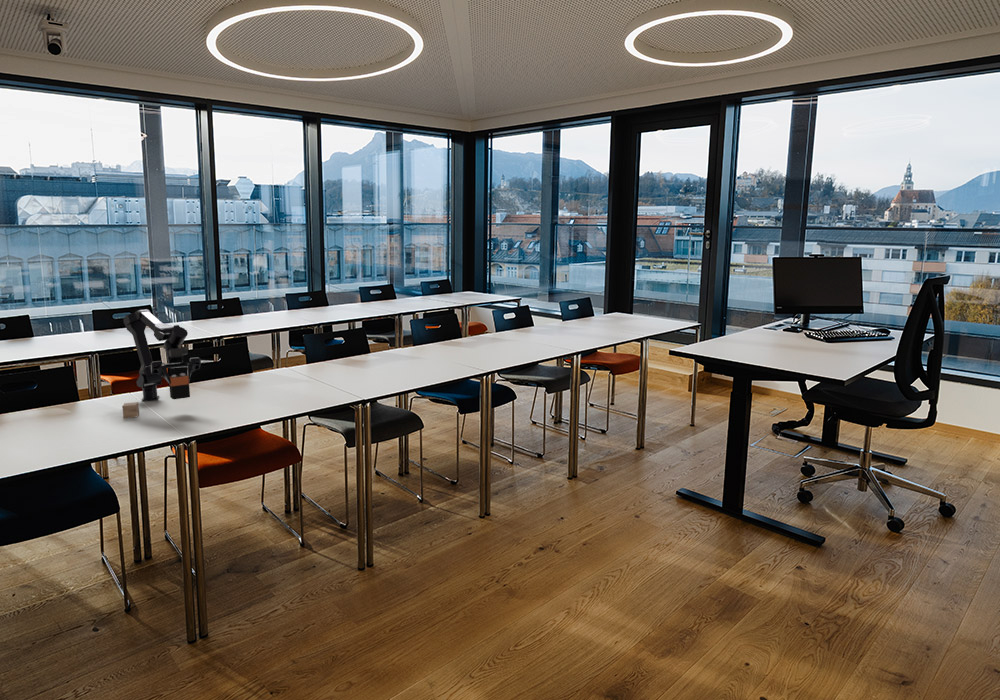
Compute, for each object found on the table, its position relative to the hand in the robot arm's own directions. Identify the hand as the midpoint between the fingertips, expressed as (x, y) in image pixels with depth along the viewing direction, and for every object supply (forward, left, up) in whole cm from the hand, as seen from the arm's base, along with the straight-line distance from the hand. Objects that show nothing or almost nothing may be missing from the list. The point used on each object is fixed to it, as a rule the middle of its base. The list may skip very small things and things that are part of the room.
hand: (179, 382), depth 280 cm
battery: (-1, 0, -7) cm, 7 cm away
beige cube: (-2, -19, -13) cm, 23 cm away
